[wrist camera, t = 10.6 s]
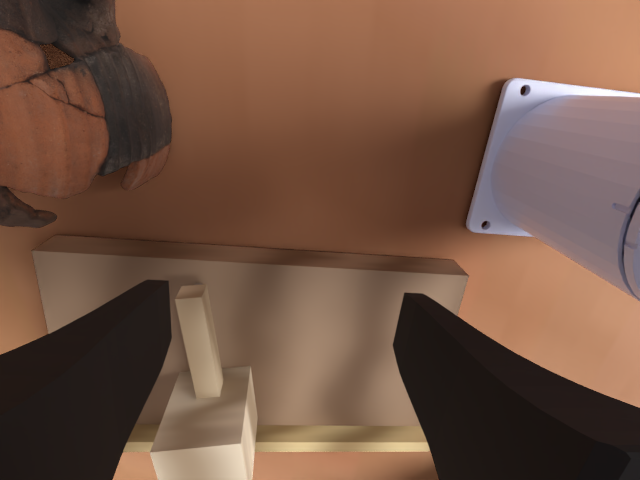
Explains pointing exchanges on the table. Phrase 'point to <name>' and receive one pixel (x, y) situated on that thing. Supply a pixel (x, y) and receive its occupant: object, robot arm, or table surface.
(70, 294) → the walnut board
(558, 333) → the table surface
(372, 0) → the table surface
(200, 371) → the wooden mallet
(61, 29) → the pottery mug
